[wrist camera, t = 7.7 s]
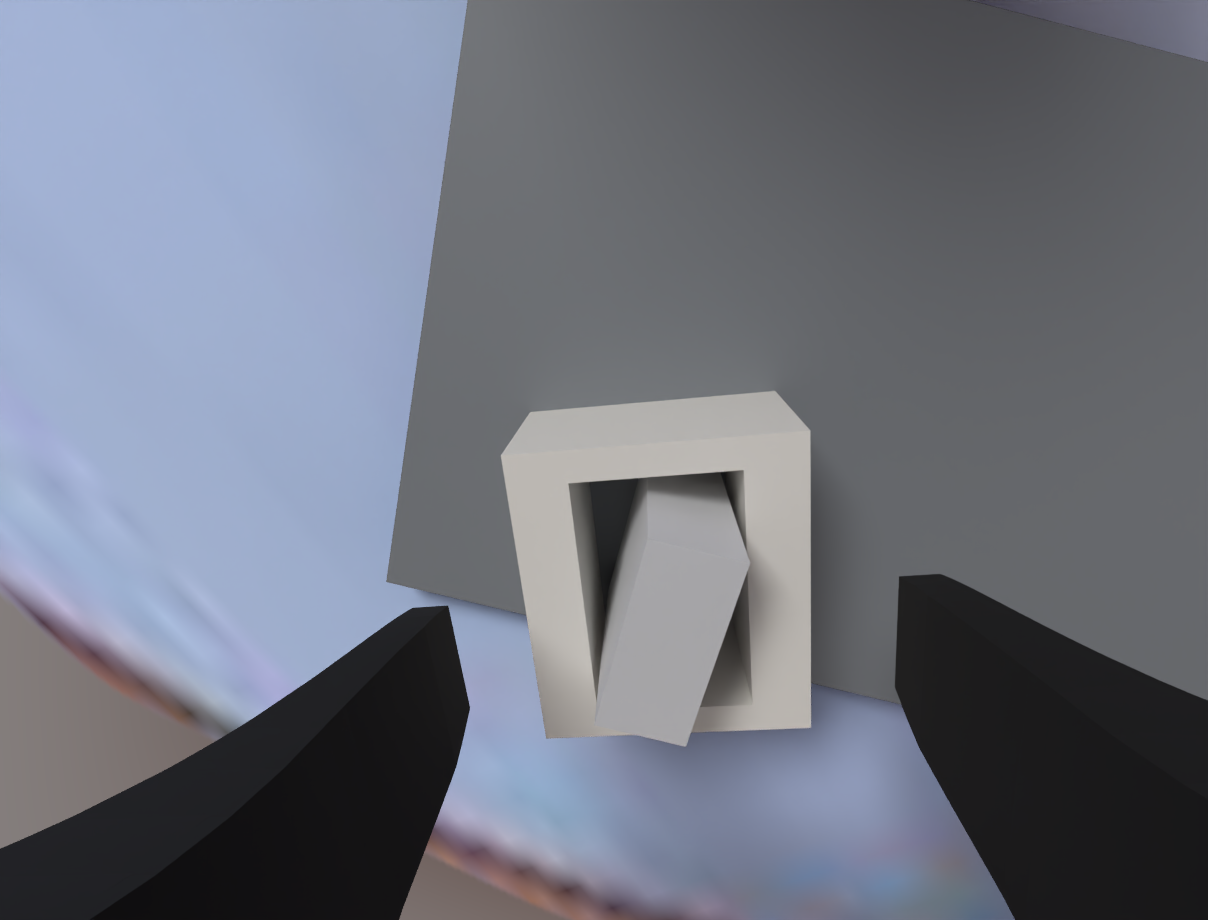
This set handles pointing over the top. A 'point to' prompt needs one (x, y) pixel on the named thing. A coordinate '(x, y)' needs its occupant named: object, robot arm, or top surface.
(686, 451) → the open rectangular frame
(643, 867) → the top surface
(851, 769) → the top surface
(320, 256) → the top surface
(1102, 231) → the board
